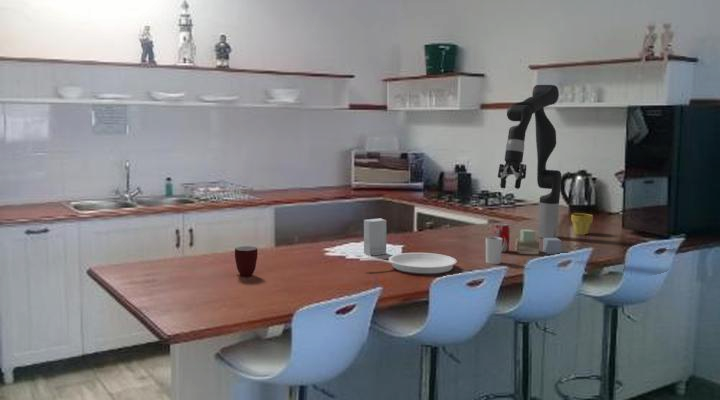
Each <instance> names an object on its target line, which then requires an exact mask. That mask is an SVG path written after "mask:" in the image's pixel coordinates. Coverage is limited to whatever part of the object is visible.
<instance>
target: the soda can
mask: <svg viewBox="0 0 720 400" xmlns="http://www.w3.org/2000/svg"><path fill="white" fill-rule="evenodd" d="M510 232H511V229H510V226H509V223H501V222H497V223H495V225H494V226H493V233H492V237H500V238H502V250H501V253H506V252H508V251H509V249H510V240H511V239H510V237H511V236H510V235H511V233H510Z"/></svg>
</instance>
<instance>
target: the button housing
mask: <svg viewBox="0 0 720 400" xmlns="http://www.w3.org/2000/svg"><path fill="white" fill-rule="evenodd" d="M514 246H515V249H514V250H515V251H516V252H517V253H518V254H519V255H539V253H540V242H539V241H537V240H536V239H535V242H522V241H520V238H516V239H515V245H514Z"/></svg>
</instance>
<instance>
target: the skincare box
mask: <svg viewBox="0 0 720 400" xmlns="http://www.w3.org/2000/svg"><path fill="white" fill-rule="evenodd" d="M365 253H366V254H365ZM363 254H365V255H367V254H368V255H367V256H369V255H373V256H378V255H379V256H380V255H381V254H382V255H387V220H386V219H383V218H381V217H380V218H370V219H363Z"/></svg>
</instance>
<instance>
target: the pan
mask: <svg viewBox="0 0 720 400" xmlns="http://www.w3.org/2000/svg"><path fill="white" fill-rule="evenodd" d="M359 261H361V262H367V261H377V262H378V261H379V262H383V263H388V264H391V265H392V268H393V269H395V270H396V271H399V272H402V273H406V274H413V275H439V274H440V275H441V274H446V273H449V272H450V271H452V269H453V268H454V265H456V264H457V262H458V260H456V258H455V257H453V256H449V255H445V254H441V253H440V254H439V253H434V252H433V253H432V252H404V253H398V254H394V255H391V256H390V257H388V260H385V259H381V258H369V257H368V258H367V257H366V258H360V259H359Z"/></svg>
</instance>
